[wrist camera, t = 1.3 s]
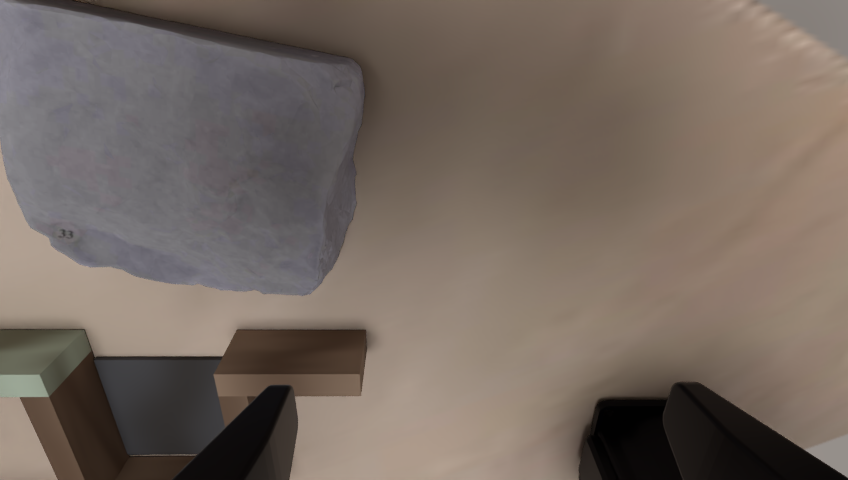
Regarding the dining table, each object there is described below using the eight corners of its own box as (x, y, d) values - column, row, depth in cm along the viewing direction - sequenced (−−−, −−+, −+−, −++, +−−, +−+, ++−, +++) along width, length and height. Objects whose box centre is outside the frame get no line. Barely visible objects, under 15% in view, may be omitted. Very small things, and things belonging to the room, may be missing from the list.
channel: (349, -79, 16) (335, -95, 13) (371, 470, 27) (367, 522, 24) (-366, -98, 15) (-536, -119, 12) (-34, 473, 26) (-84, 526, 24)
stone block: (354, 251, 23) (379, 36, 17) (335, 326, 19) (358, 82, 13) (99, 208, 22) (31, -33, 16) (26, 278, 19) (-98, -5, 13)
